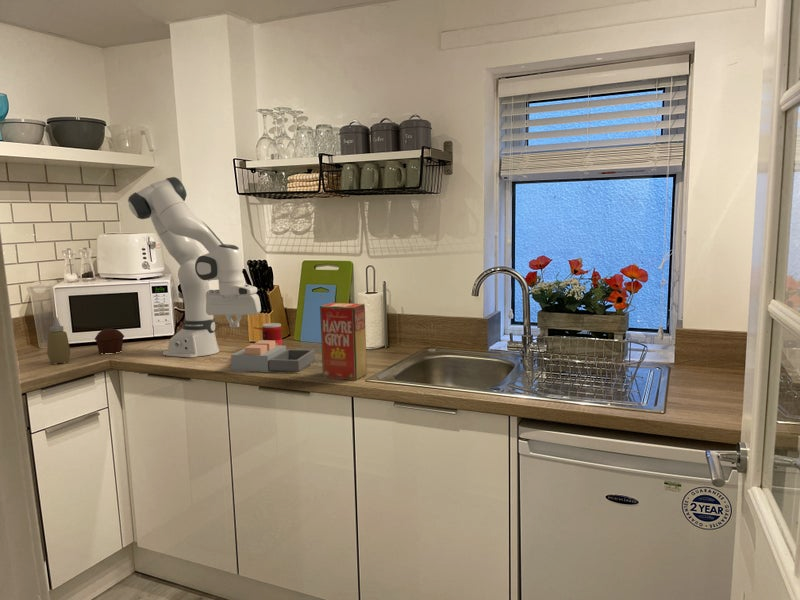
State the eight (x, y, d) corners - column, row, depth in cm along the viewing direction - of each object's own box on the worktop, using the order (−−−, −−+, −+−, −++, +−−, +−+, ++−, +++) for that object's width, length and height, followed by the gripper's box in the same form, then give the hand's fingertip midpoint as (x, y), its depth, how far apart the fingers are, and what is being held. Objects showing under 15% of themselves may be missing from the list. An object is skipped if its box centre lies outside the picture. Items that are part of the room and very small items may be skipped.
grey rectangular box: (231, 371, 223) (230, 354, 222) (252, 359, 240) (251, 344, 240) (268, 372, 220) (267, 355, 219) (286, 360, 238) (285, 345, 237)
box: (269, 372, 220) (268, 359, 219) (287, 360, 238) (287, 349, 237) (298, 373, 218) (298, 360, 217) (315, 361, 236) (314, 350, 235)
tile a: (245, 354, 222) (244, 347, 222) (252, 351, 228) (251, 344, 228) (260, 354, 221) (260, 348, 221) (267, 351, 227) (266, 344, 226)
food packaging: (321, 377, 211) (318, 305, 208) (334, 371, 220) (331, 302, 216) (356, 380, 206) (354, 307, 203) (368, 374, 215) (366, 303, 211)
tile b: (254, 349, 230) (253, 343, 229) (260, 346, 236) (260, 340, 235) (269, 350, 229) (269, 343, 228) (275, 346, 235) (275, 340, 234)
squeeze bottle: (45, 363, 241) (40, 317, 239) (67, 359, 247) (63, 315, 245) (52, 366, 236) (47, 319, 234) (74, 362, 242) (70, 317, 240)
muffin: (92, 352, 260) (90, 329, 259) (119, 348, 268) (118, 325, 266) (101, 356, 252) (99, 332, 250) (129, 352, 259) (127, 329, 258)
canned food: (286, 349, 260) (284, 323, 258) (274, 353, 252) (273, 326, 251) (271, 347, 263) (270, 322, 261) (259, 351, 256) (258, 325, 254)
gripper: (201, 290, 222) (204, 328, 223) (253, 289, 218) (256, 328, 219) (209, 288, 228) (212, 325, 230) (261, 287, 224) (264, 325, 225)
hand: (234, 326), depth 224 cm, fingers closed
